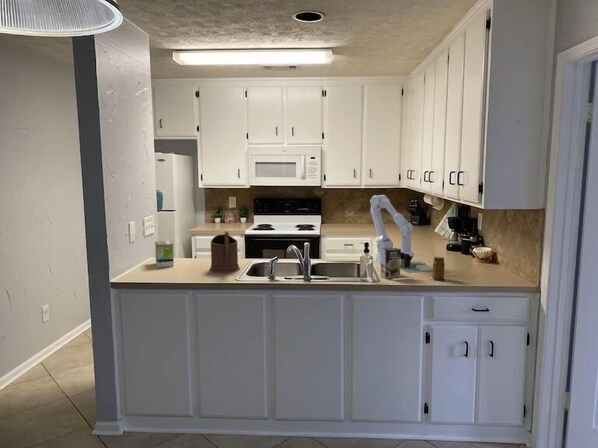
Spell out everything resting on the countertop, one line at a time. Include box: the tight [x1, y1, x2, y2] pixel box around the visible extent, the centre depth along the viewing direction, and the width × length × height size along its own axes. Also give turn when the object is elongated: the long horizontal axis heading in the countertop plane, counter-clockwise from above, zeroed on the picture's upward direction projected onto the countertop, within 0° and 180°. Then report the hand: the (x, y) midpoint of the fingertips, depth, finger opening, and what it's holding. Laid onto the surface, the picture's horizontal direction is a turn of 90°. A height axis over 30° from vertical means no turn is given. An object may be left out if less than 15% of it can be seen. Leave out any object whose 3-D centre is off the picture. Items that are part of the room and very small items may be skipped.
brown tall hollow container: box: [209, 230, 241, 274], centre depth 260 cm, size 18×24×25 cm
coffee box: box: [380, 247, 401, 280], centre depth 243 cm, size 9×6×16 cm
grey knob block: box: [410, 260, 426, 268], centre depth 267 cm, size 7×7×2 cm
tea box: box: [154, 240, 175, 268], centre depth 277 cm, size 15×10×15 cm
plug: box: [400, 259, 410, 268], centre depth 262 cm, size 3×5×6 cm
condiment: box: [430, 256, 450, 282], centre depth 238 cm, size 7×8×12 cm
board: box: [400, 264, 433, 274], centre depth 260 cm, size 17×18×3 cm
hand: (405, 265), depth 263 cm, fingers closed on plug, 3 cm apart
